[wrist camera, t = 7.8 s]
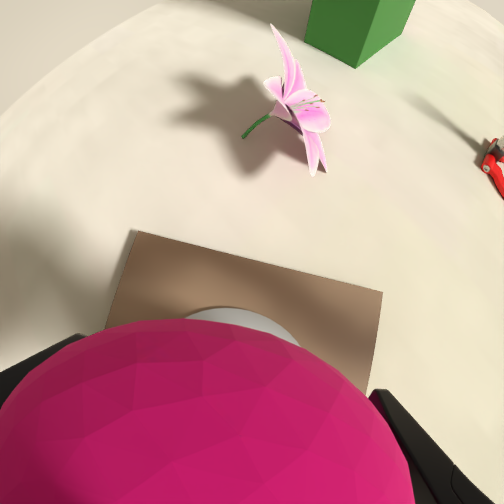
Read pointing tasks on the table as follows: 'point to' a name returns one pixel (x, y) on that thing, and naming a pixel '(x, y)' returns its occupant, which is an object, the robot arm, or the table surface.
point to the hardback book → (355, 27)
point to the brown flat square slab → (250, 300)
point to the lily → (297, 106)
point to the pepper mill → (194, 424)
